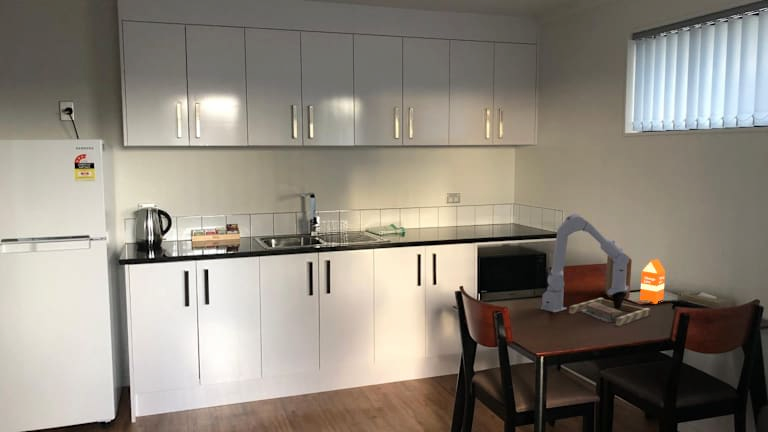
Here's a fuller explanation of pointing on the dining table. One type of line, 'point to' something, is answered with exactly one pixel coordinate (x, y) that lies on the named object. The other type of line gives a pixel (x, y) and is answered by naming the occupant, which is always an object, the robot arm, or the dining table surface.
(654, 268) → the orange juice
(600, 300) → the beige wooden frame
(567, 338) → the dining table surface
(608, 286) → the wooden block
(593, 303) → the packaged product
